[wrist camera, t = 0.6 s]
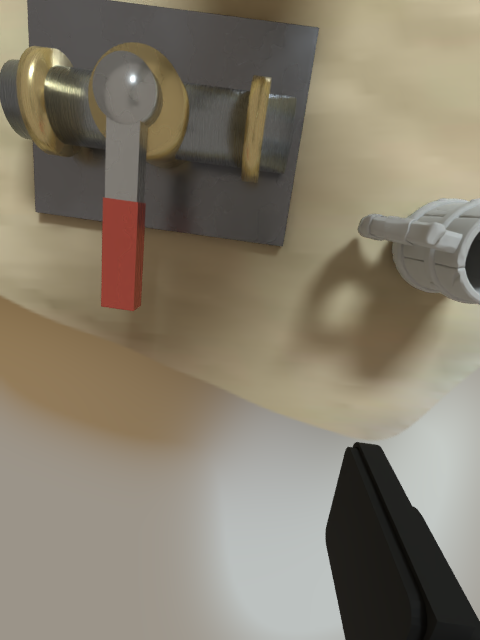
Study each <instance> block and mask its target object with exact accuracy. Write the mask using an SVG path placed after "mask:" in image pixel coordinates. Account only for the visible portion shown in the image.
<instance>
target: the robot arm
mask: <svg viewBox="0 0 480 640" xmlns="http://www.w3.org/2000/svg"><path fill="white" fill-rule="evenodd" d="M326 546H327V551H328V556H329V560H330V565H331V570H332V575H333V580H334V585H335V590H336V595H337V600H338V605H339V610H340V615H341V620H342V624H343V629H344V634H345V639H346V640H480V621H479V619H478V618H477V616H476V614H475V612H474V610H473V609H472V607H471V605H470V603H469V601H468V600H467V597H466V596H465V594H464V592H463V590H462V588H461V586H460V585H459V583H458V581H457V579H456V577H455V575H454V574H453V572H452V570H451V568H450V566H449V565H448V563H447V561H446V559H445V557H444V555H443V553H442V551H441V550H440V548H439V546H438V544H437V542H436V540H435V539H434V537H433V535H432V533H431V532H430V529H429V528H428V526H427V524H426V522H425V520H424V518H423V517H422V515H421V514H420V512H419V511H418V510H417V509H416V508H415V507H412V505H411V503H410V501H409V500H408V497H407V496H406V494H405V492H404V490H403V488H402V486H401V484H400V482H399V480H398V479H397V477H396V475H395V473H394V471H393V469H392V467H391V465H390V463H389V462H388V460H387V458H386V456H385V454H384V452H383V450H382V448H381V447H380V446H378V445H374V444H367V443H359V442H356V443H355V444H354V445H353V448H352V447H347V449H346V451H345V454H344V459H343V462H342V466H341V470H340V474H339V478H338V482H337V487H336V490H335V495H334V498H333V502H332V506H331V510H330V514H329V518H328V522H327V527H326Z"/></svg>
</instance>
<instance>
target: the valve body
mask: <svg viewBox="0 0 480 640" xmlns="http://www.w3.org/2000/svg"><path fill="white" fill-rule="evenodd" d="M27 4H28V29H29V48H27V49H26V50H25V51H24V53H23V54H22V56H21V58H20V60H9V61H7V62H6V63H5V64H4V65H3V67H2V69H1V72H0V101H1V105H2V108H3V111H4V113H5V116H6V118H7V120H8V122H9V124H10V125H11V127H12V128H13V129H14V131H15V132H16V133H17V134H19V135H20V136H21V137H23V138H25V139H31V140H33V156H34V181H35V206H36V212H39V213H47V214H54V215H61V216H68V217H75V218H82V219H90V220H97V221H103V197H104V198H105V160H106V115H105V114H104V113H103V112H102V111H101V110H100V108H99V107H98V105H97V103H96V100H95V98H94V94H93V86H92V83H93V75H94V72H95V69H96V67H97V65H98V63H99V62H100V61H101V60H102V59H103V58H104V57H105V56H106V55H108V54H110V53H112V52H115V51H128V52H131V53H133V54H135V55H137V56H138V57H140V58H141V59H142V60H143V61H144V62H145V63H146V64H147V66H148V67H149V68H150V70H151V71H152V72H153V74H154V75H155V77H156V78H157V80H158V82H159V84H160V86H161V89H162V95H163V105H162V110H161V113H160V115H159V117H158V119H157V120H156V121H155V122H154V124H152V125H151V126H150V127H148V133H147V154H146V174H145V195H144V203H146V211H145V227H147V228H154V229H161V230H168V231H176V232H183V233H190V234H197V235H204V236H211V237H219V238H226V239H233V240H240V241H247V242H254V243H262V244H269V245H276V246H283V242H284V236H285V230H286V224H287V218H288V212H289V206H290V199H291V193H292V187H293V181H294V175H295V169H296V163H297V157H298V151H299V145H300V139H301V133H302V127H303V121H304V115H305V109H306V103H307V97H308V91H309V85H310V79H311V73H312V67H313V61H314V55H315V49H316V43H317V37H318V31H319V28H318V27H310V26H302V25H295V24H287V23H279V22H272V21H264V20H256V19H249V18H241V17H233V16H226V15H218V14H210V13H203V12H195V11H187V10H180V9H172V8H164V7H157V6H149V5H141V4H134V3H126V2H118V1H111V0H27Z"/></svg>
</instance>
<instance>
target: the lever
mask: <svg viewBox="0 0 480 640" xmlns="http://www.w3.org/2000/svg"><path fill="white" fill-rule="evenodd" d="M92 86H93V94H94V98H95V100H96V103H97V105H98V107H99V108H100V110H101V111H102V112H103V113H104V114H105V115H106V160H105V198H104V197H103V227H102V294H101V306H102V307H109V308H116V309H123V310H130V311H134V310H135V309H137V308H138V307H140V306H141V291H142V271H143V251H144V231H145V211H146V203H144V195H145V174H146V154H147V133H148V127H150V126H151V125H152V124H154V122H155V121H156V120H157V119H158V117H159V115H160V113H161V110H162V105H163V95H162V89H161V86H160V84H159V82H158V80H157V78H156V77H155V75H154V74H153V72H152V71H151V70H150V68H149V67H148V66H147V64H146V63H145V62H144V61H143V60H142V59H141V58H140V57H138V56H137V55H135V54H133V53H131V52H128V51H115V52H112V53H110V54H108V55H106V56H105V57H104V58H103V59H102V60H101V61H100V62H99V63H98V65H97V67H96V69H95V72H94V75H93V83H92Z"/></svg>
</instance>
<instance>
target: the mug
mask: <svg viewBox="0 0 480 640" xmlns="http://www.w3.org/2000/svg"><path fill="white" fill-rule="evenodd" d="M358 232H359V234H360V235H361V236H363V237H366V238H370V239H374V240H380V241H381V240H387V241H392V242H393V245H392V253H393V254H394V255H393V261H394V262H395V264H396V268H397V270H398V272H399V273H400V275H401V277H402V278H403V279H404V280H405V281H406V282H407V283H409V284H410V285H411V286H413V287H415V288H417V289H419V290H422V291H425V292H429V293H441V294H443V295H444V296H446V297H448V298H450V299H452V300H455V301H458V302H462V303H469V304H480V199H473V200H471V201H466V200H462V199H446V198H442V199H439V200H437V201H433V202H430V203H428V204H426V205H424V206H422V207H421V208H419V209H418V210H416V211H415V212H414V213H412V214H411V216H408V217H407V218H399V217H395V216H388V217H386V216H383V215H380V214H370V215H368V216H365V217H363V218H362V219H361V221H360V224H359V226H358Z"/></svg>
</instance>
